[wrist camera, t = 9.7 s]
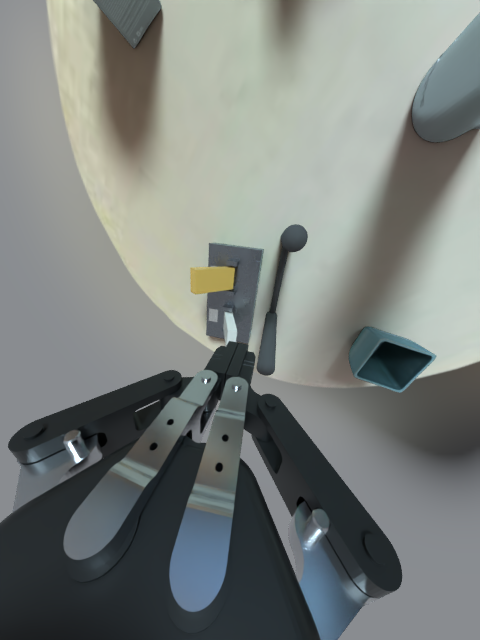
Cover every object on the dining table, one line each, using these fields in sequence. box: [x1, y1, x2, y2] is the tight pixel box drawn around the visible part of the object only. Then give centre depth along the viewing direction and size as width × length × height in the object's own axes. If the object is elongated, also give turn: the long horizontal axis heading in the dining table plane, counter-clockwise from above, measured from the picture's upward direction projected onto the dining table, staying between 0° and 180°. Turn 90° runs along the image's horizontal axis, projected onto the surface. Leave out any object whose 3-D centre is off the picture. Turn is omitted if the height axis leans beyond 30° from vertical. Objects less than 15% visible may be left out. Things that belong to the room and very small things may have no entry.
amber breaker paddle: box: [191, 266, 235, 294], centre depth 32 cm, size 2×4×8 cm
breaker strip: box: [206, 243, 264, 344], centre depth 38 cm, size 10×20×5 cm, turn 173°
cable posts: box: [257, 225, 308, 375], centre depth 29 cm, size 2×18×18 cm, turn 173°
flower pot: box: [349, 327, 436, 392], centre depth 34 cm, size 9×9×9 cm
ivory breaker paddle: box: [223, 311, 237, 346], centre depth 35 cm, size 2×4×8 cm, turn 174°
